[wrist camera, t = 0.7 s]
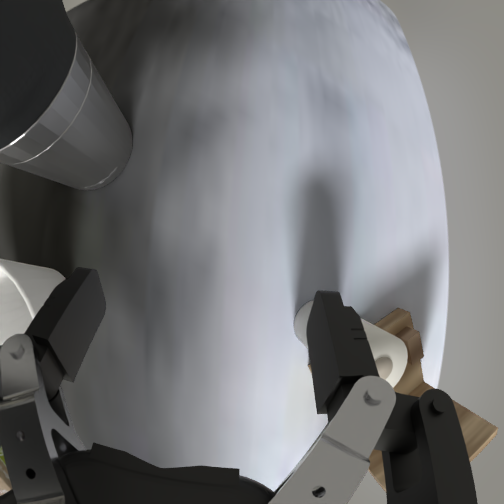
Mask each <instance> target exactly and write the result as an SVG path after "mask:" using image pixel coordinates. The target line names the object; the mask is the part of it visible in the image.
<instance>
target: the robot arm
mask: <svg viewBox="0 0 504 504" xmlns="http://www.w3.org/2000/svg"><path fill="white" fill-rule="evenodd" d="M132 142H133V139H132V132H131V129H130V127H129V124H128V122H127V121H126V119H125V117H124V116H123V114H122V112H121V110H120V109H119V107H118V105H117V104H116V102H115V100H114V99H113V97H112V95H111V94H110V92H109V90H108V88H107V87H106V85H105V83H104V81H103V80H102V78H101V76H100V74H99V73H98V71H97V69H96V67H95V66H94V64H93V62H92V60H91V59H90V57H89V55H88V53H87V51H86V50H85V48H84V47H83V45H82V43H81V41H80V39H79V37H78V36H77V34H76V32H75V30H74V28H73V26H72V24H71V22H70V20H69V18H68V16H67V14H66V11H65V8H64V5H63V2H62V0H0V163H4V164H6V165H9V166H12V167H15V168H18V169H21V170H24V171H27V172H29V173H32V174H35V175H38V176H41V177H44V178H47V179H50V180H53V181H55V182H58V183H61V184H64V185H67V186H70V187H73V188H76V189H79V190H95V189H99V188H101V187H103V186H106V185H107V184H109V183H110V182H112V181H113V180H114V179H115V178H116V177H117V176H118V175H119V174H120V173H121V172H122V170H123V169H124V168H125V166H126V164H127V162H128V160H129V158H130V155H131V151H132ZM105 310H106V301H105V297H104V293H103V290H102V286H101V282H100V278H99V275H98V272H97V270H95V269H88V268H80V267H78V268H76V269H75V270H74V272H73V273H72V274H71V276H70V277H69V279H65V280H64V281H62V282H61V283H60V284H58V285H57V286H56V287H55V288H54V290H53V291H52V292H51V294H50V295H49V298H47V299H46V301H45V302H44V306H42V307H41V308H40V310H39V311H38V313H37V314H36V316H35V317H34V319H33V320H32V322H31V323H30V325H29V327H28V328H27V330H26V331H25V333H24V334H15V335H13V336H11V337H9V338H8V339H7V340H6V341H5V342H4V343H3V345H0V448H1V446H2V451H3V455H4V459H5V464H6V467H7V471H8V475H9V479H10V482H11V485H12V489H11V490H10V491H8V492H6V493H5V494H3V495H1V496H0V504H347V503H348V502H349V500H350V499H351V497H352V496H353V494H354V492H355V491H356V489H357V488H358V486H359V484H360V483H361V481H362V479H363V478H364V476H365V474H366V472H367V470H368V468H369V466H370V461H369V457H370V455H371V453H372V451H373V449H374V450H380V451H382V459H383V467H384V475H385V484H386V493H387V504H477V498H476V491H475V485H474V480H473V475H472V470H471V466H470V461H469V457H468V452H467V448H466V444H465V441H464V437H463V433H462V429H461V426H460V423H459V419H458V416H457V413H456V409H455V406H454V403H453V401H452V399H451V398H450V396H449V395H448V394H446V393H445V392H444V391H442V390H439V389H429V390H427V391H425V392H424V393H423V394H422V395H421V396H420V397H416V396H411V395H406V394H401V393H397V392H395V391H394V389H393V387H392V386H391V385H390V384H389V383H388V382H387V381H386V380H384V379H383V378H380V376H379V373H378V370H377V367H376V363H375V360H374V357H373V354H372V351H371V348H370V345H369V341H368V340H367V335H366V332H365V331H364V327H363V324H362V321H361V318H360V316H359V315H358V314H357V313H356V311H355V310H354V309H353V308H352V307H348V306H344V305H343V302H342V299H341V296H340V293H339V292H335V291H317V292H316V295H315V298H314V302H313V305H312V308H311V312H310V315H309V318H308V322H307V329H306V337H307V344H308V350H309V357H310V364H311V371H312V378H313V385H314V393H315V400H316V408H317V414H327V415H328V423H327V425H326V426H325V428H324V429H323V431H322V432H321V433H320V435H319V436H318V438H317V439H316V440H315V442H314V443H313V444H312V446H311V447H310V449H309V450H308V451H307V453H306V454H305V455H304V456H303V458H302V459H301V460H300V462H299V463H298V464H297V465H296V467H295V468H294V469H293V470H292V471H291V473H290V474H289V475H288V476H287V477H286V478H285V480H284V481H283V482H282V483H281V484H280V486H279V487H278V488H277V489H276V490H275V491H274V492H273V491H272V490H271V489H269V488H267V487H266V486H264V485H263V484H261V483H259V482H257V481H255V480H252V479H250V478H247V477H244V476H240V475H239V469H233V468H220V467H209V466H192V467H179V468H159V467H156V466H154V465H152V464H149V463H147V462H145V461H143V460H141V459H139V458H137V457H135V456H133V455H131V454H129V453H127V452H125V451H121V450H117V449H113V448H110V447H106V446H103V445H100V444H96V443H93V446H92V449H91V450H86V449H85V447H84V445H83V443H82V441H81V439H80V438H79V436H78V435H77V433H76V431H75V429H74V426H73V423H72V420H71V417H70V414H69V411H68V407H67V404H66V401H65V397H64V394H63V390H62V388H61V386H60V384H61V382H62V380H63V379H64V380H67V381H70V382H74V380H75V377H76V375H77V373H78V370H79V368H80V366H81V364H82V361H83V359H84V357H85V355H86V352H87V350H88V348H89V346H90V344H91V342H92V340H93V337H94V335H95V333H96V331H97V329H98V327H99V325H100V323H101V321H102V319H103V317H104V315H105Z"/></svg>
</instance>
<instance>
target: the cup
mask: <svg viewBox="0 0 504 504" xmlns="http://www.w3.org/2000/svg"><path fill="white" fill-rule="evenodd" d="M64 280H65V277H64V276H63V275H62V274H61V273H59V272H58V271H56V270H54V269H51V268H46V267H41V266H35V265H30V264H25V263H20V262H15V261H10V260H5V259H0V345H3V343H4V342H5V341H6V340H7V339H8V338H9V337H11V336H13V335H15V334H24V333H25V331H26V330H27V328H28V327H29V325H30V323H31V322H32V320H33V319H34V317H35V316H36V314H37V313H38V311H39V310H40V308H41V307H42V306H44V302H45V301H46V299H47V298H49V295H50V294H51V292H52V291H53V290H54V288H55V287H56V286H57V285H58V284H60V283H61V282H62V281H64Z"/></svg>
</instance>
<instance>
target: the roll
mask: <svg viewBox="0 0 504 504" xmlns="http://www.w3.org/2000/svg"><path fill="white" fill-rule="evenodd" d="M313 302H314V300H312V301H310V302H308V303H306V304H305V305H304V306H302V307H301V308H300V310H299V311H298V313H297V315H296V317H295V320H294V332H295V335H296V336H297V338H298V339H299V340H300V341H301V342H302V343H303V344H304V345H305V347H306V348H307V349H308V344H307V337H306V329H307V322H308V318H309V315H310V312H311V308H312V305H313ZM361 321H362V324H363V327H364V331H365V332H366V335H367V340H368V341H369V345H370V348H371V351H372V354H373V357H374V360H375V363H376V367H377V370H378V373H379V376H380V378H383V379H384V380H386V381H387V382H388V383H389V384H390V385H391V386H392V387H393V388H394V386H395V385H396V384H397V383H398V382H399V380H400V379H401V377H402V375H403V373H404V371H405V368H406V365H407V359H408V353H407V348H406V346H405V344H404V342H403V341H402V340H401V339H400V338H398V337H396V336H394V335H392V334H390V333H388V332H386V331H384V330H383V329H381V328H379V327H377V326H375V325H373V324H371V323H369V322H367V321H365V320H363V319H361Z"/></svg>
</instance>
